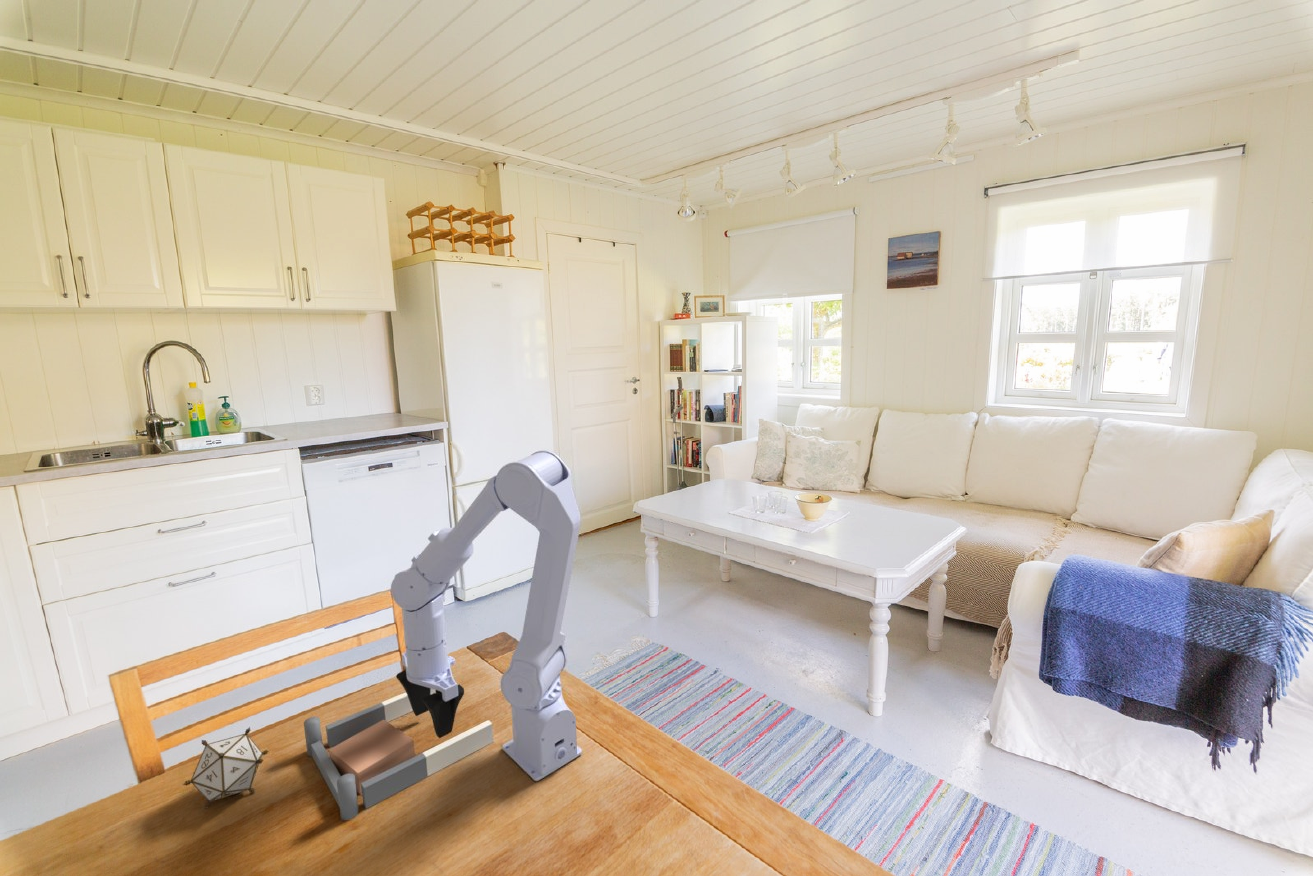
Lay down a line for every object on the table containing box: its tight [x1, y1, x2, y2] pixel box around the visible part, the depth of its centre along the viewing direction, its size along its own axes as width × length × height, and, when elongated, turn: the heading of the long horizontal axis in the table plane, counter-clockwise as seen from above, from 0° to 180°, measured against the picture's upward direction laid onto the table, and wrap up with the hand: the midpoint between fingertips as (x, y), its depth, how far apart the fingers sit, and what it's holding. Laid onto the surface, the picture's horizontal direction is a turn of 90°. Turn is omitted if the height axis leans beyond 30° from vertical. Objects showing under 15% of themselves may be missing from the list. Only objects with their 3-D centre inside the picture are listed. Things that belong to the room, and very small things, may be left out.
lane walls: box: [381, 689, 494, 777], centre depth 89 cm, size 17×10×3 cm, turn 44°
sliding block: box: [328, 720, 416, 796], centre depth 82 cm, size 8×8×4 cm
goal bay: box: [303, 701, 429, 822], centre depth 82 cm, size 18×11×5 cm, turn 44°
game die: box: [182, 726, 270, 810], centre depth 76 cm, size 9×8×10 cm
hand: (432, 723), depth 89 cm, fingers open, 7 cm apart
